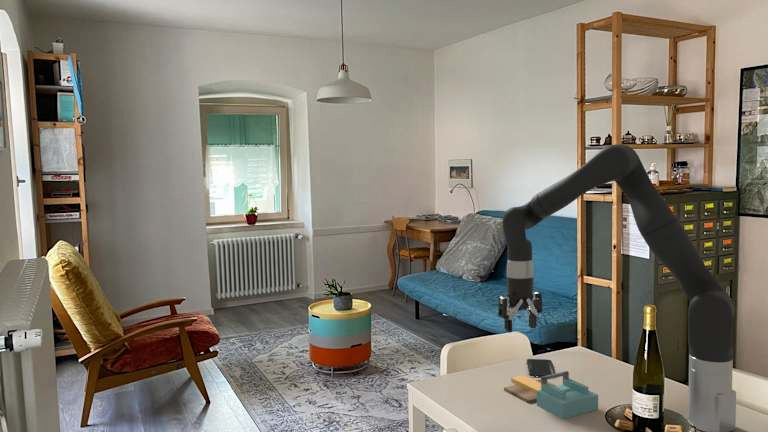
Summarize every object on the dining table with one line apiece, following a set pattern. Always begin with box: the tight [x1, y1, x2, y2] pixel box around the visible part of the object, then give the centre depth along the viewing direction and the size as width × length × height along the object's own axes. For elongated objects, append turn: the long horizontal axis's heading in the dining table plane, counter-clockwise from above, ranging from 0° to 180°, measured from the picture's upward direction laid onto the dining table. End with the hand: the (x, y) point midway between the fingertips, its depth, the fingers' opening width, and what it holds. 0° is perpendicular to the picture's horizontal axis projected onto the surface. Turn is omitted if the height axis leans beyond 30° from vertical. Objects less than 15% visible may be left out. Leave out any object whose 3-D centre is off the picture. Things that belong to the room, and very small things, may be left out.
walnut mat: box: [503, 378, 557, 404], centre depth 168 cm, size 11×14×1 cm
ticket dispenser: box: [536, 370, 599, 420], centre depth 156 cm, size 10×12×8 cm
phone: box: [526, 358, 556, 378], centre depth 187 cm, size 8×1×15 cm
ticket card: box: [510, 375, 541, 394], centre depth 169 cm, size 13×5×1 cm, turn 26°
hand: (520, 329), depth 172 cm, fingers open, 8 cm apart
